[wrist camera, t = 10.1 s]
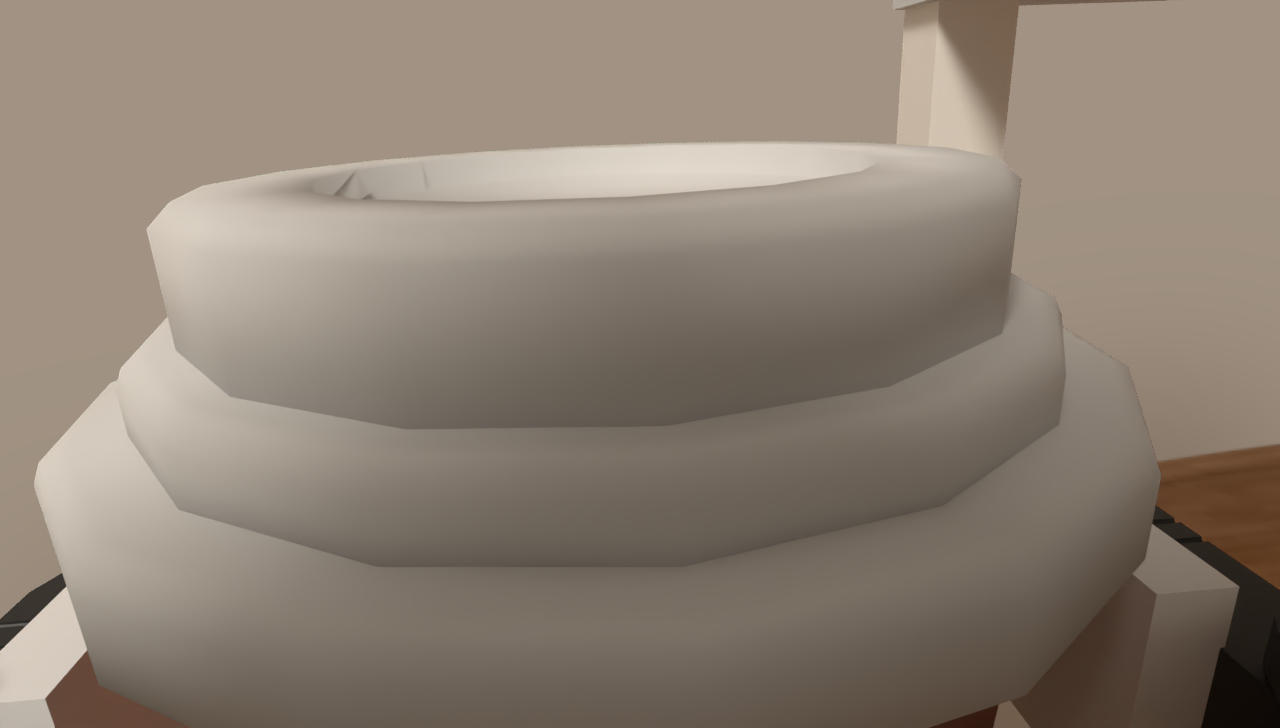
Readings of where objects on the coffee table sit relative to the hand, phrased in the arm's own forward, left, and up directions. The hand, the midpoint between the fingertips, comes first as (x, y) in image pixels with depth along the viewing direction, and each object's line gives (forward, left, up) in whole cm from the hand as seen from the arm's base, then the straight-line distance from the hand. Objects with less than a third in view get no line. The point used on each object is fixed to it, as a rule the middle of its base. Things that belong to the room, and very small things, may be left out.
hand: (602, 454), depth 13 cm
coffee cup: (-3, +3, -7) cm, 8 cm away
